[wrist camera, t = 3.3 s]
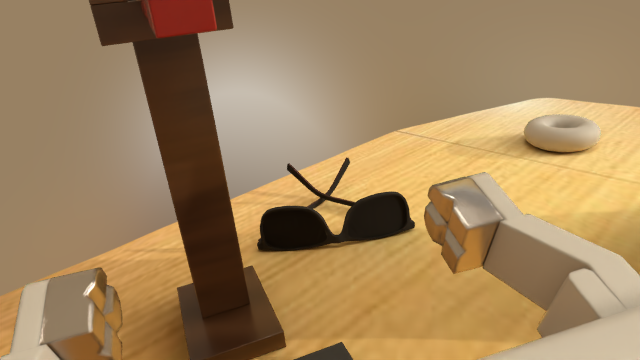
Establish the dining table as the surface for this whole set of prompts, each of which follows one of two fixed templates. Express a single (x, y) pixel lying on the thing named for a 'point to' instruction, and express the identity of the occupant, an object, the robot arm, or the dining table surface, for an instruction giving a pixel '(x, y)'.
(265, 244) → the sunglasses
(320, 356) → the cutting board
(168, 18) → the knife
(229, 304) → the wooden post stand
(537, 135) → the donut
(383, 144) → the dining table surface
